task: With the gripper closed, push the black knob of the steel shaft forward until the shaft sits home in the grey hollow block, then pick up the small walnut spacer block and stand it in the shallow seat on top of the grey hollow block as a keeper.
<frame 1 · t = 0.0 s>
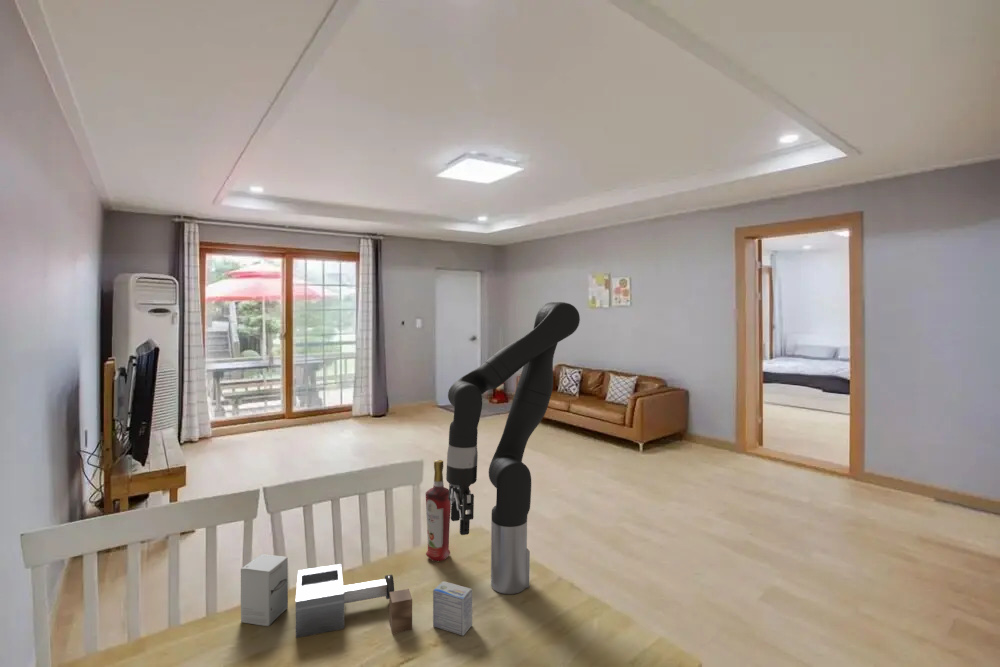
hand: (459, 527, 126), 17 cm above the table, tool pointing down, fingers open, 8 cm apart
grey hollow block: (320, 615, 118), on the table
supplement box: (265, 616, 118), on the table
medicine box: (452, 627, 114), on the table
liquor: (438, 558, 146), on the table
spacer: (400, 625, 114), on the table
shaft: (363, 591, 121), point 4 cm above the table, slide at 9.0 cm
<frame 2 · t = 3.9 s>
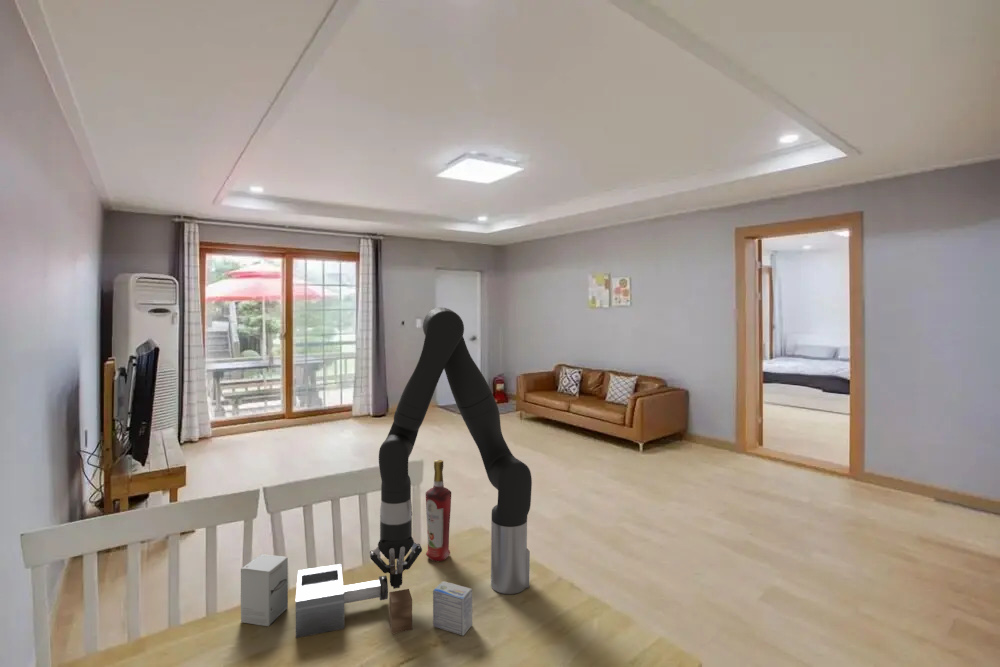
hand: (395, 586, 124), 4 cm above the table, tool pointing down, fingers closed
shaft: (357, 592, 121), point 4 cm above the table, slide at 7.5 cm, touching gripper
everything else where it was.
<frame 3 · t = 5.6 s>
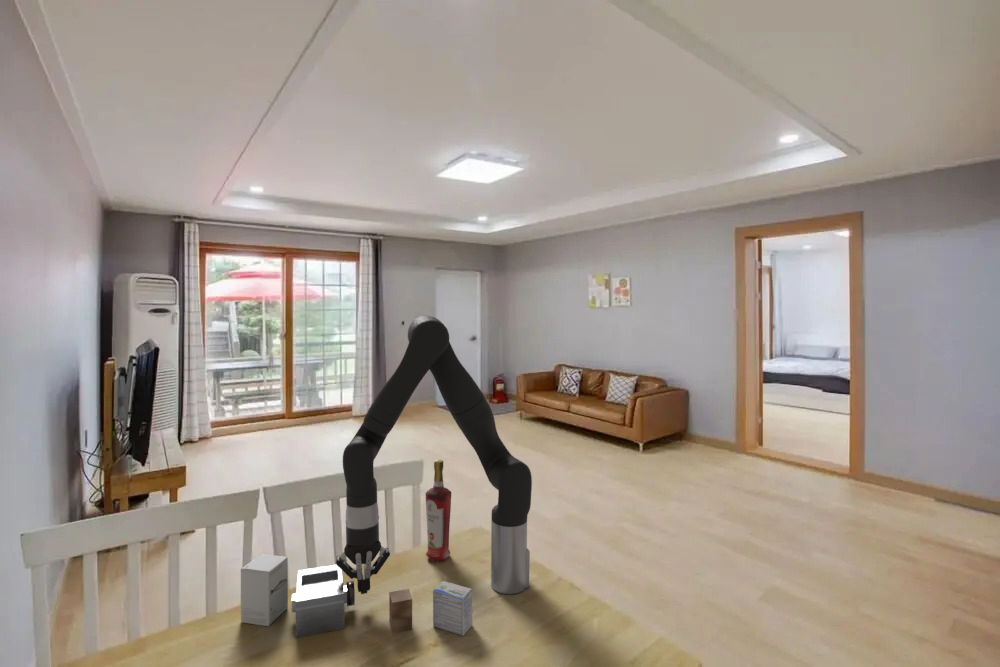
hand: (363, 592, 121), 4 cm above the table, tool pointing down, fingers closed
shaft: (323, 598, 118), point 4 cm above the table, slide at -0.1 cm, touching gripper
everything else where it was.
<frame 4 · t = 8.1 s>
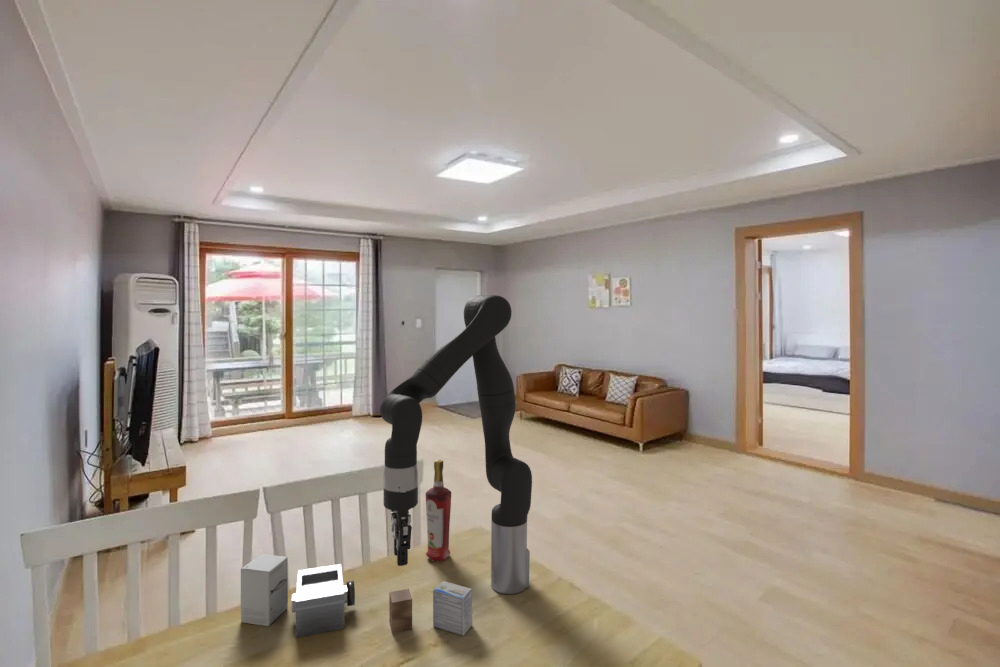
hand: (400, 559, 114), 15 cm above the table, tool pointing down, fingers open, 4 cm apart
shaft: (323, 598, 118), point 4 cm above the table, slide at 0.0 cm
everything else where it was.
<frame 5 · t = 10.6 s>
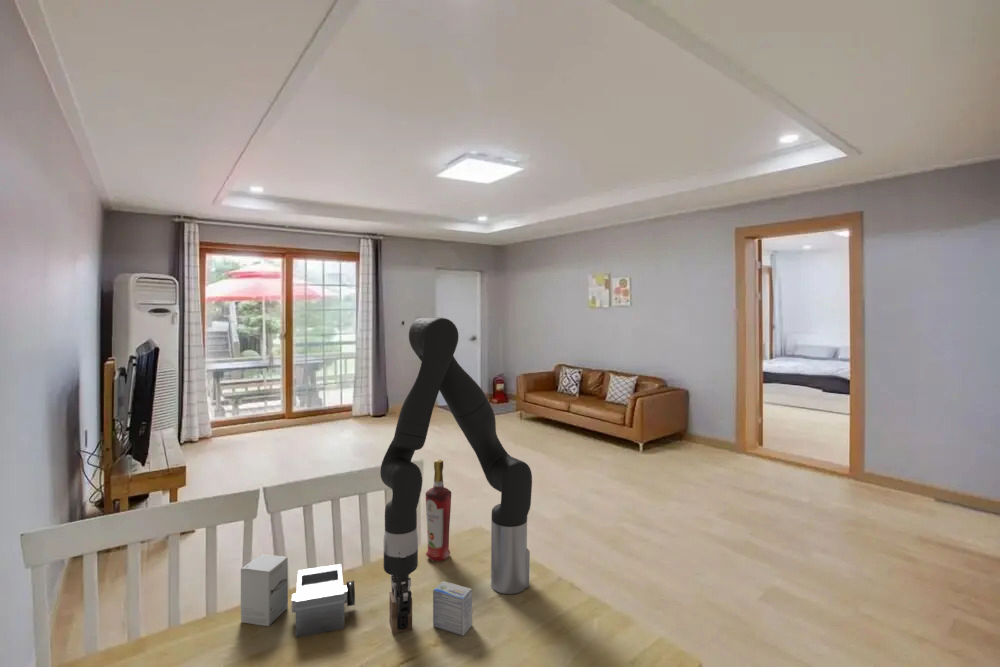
hand: (400, 621, 114), 1 cm above the table, tool pointing down, fingers closed on spacer, 4 cm apart
spacer: (400, 625, 114), on the table, touching gripper
everything else where it was.
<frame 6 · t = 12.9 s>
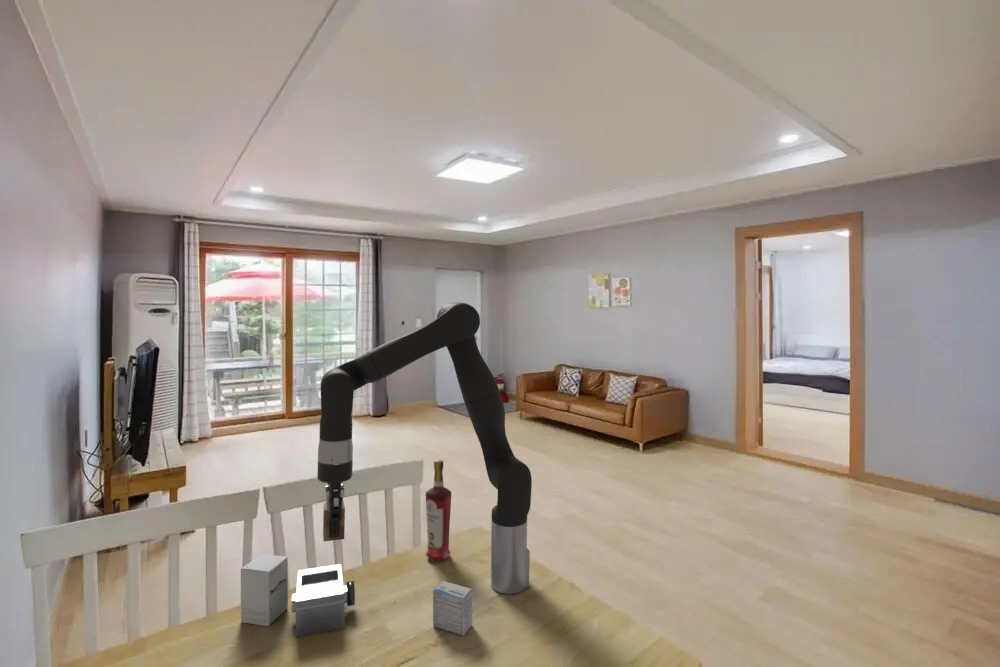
hand: (333, 531, 116), 20 cm above the table, tool pointing down, fingers closed on spacer, 4 cm apart
spacer: (333, 536, 116), point 19 cm above the table, touching gripper
everything else where it was.
when the fingers open (9 cm above the table, at t = 15.6 s): spacer drops 1 cm, resting on grey hollow block.
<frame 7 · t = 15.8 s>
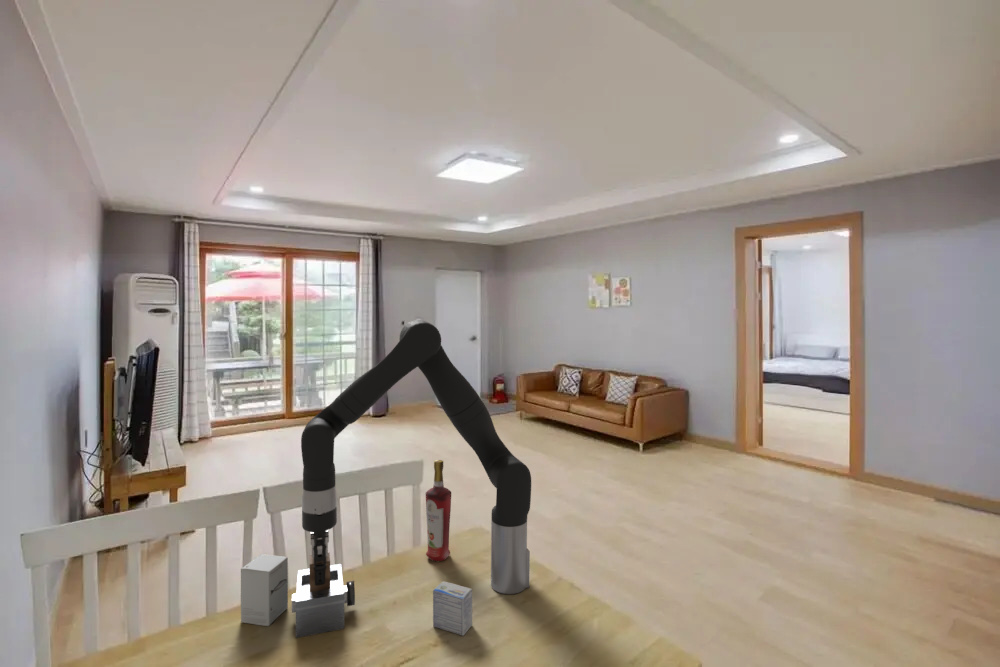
hand: (320, 577, 118), 9 cm above the table, tool pointing down, fingers open, 6 cm apart
spacer: (319, 587, 118), point 6 cm above the table, touching grey hollow block
everything else where it was.
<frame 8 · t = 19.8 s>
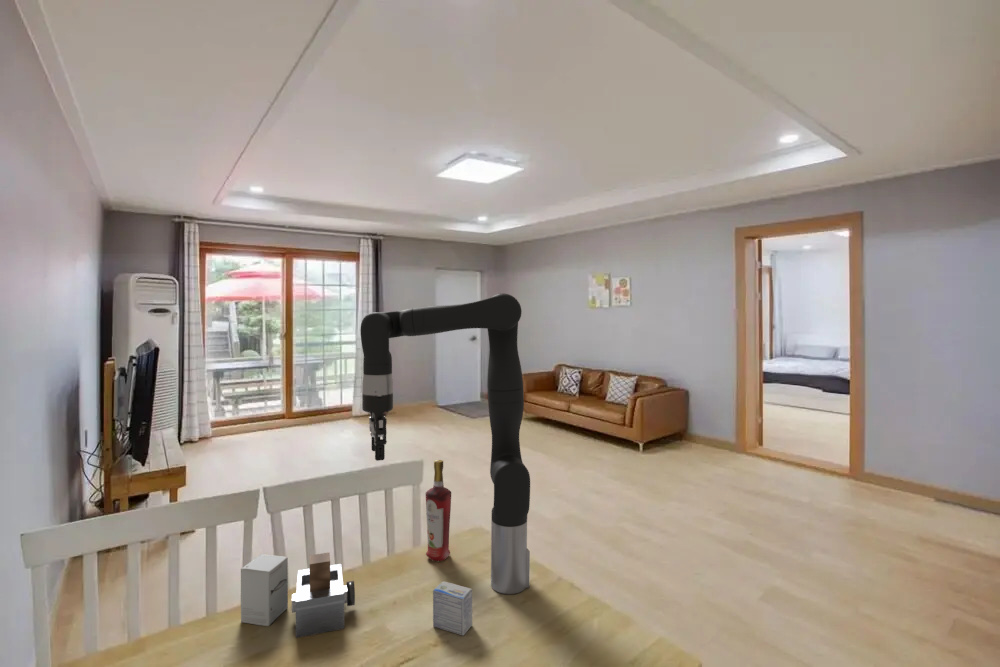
hand: (377, 455, 129), 34 cm above the table, tool pointing down, fingers open, 8 cm apart
nothing on the table moved.
at the end: shaft slide at 0.0 cm; spacer inside the target area on the grey hollow block (0.0 cm from its centre), point 6.5 cm above the grey hollow block's base; spacer tilted 0° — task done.
